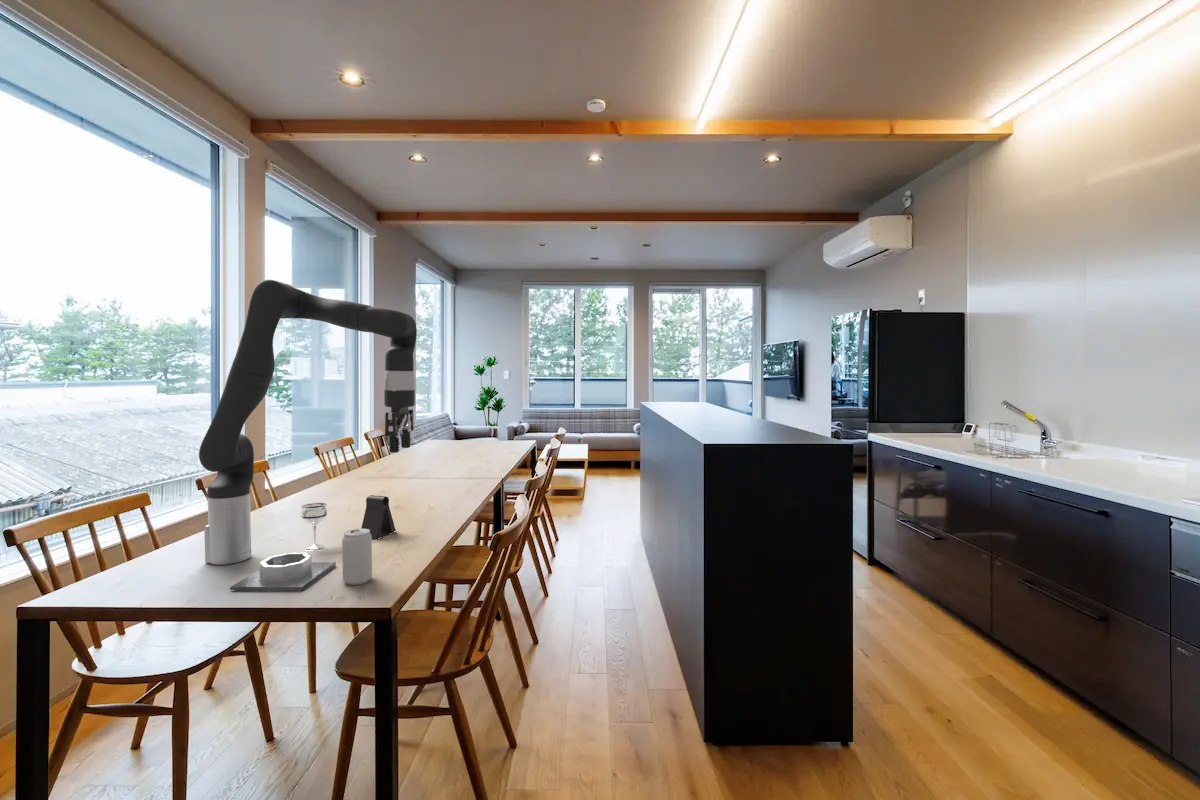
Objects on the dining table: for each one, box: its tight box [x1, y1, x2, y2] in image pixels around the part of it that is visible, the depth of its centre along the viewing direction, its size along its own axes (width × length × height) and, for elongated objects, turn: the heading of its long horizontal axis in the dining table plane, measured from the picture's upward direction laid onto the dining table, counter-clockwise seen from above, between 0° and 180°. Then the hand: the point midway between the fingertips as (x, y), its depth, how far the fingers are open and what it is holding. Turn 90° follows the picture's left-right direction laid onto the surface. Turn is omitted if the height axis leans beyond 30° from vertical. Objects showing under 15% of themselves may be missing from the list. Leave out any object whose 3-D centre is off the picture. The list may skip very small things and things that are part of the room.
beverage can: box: [341, 528, 373, 586], centre depth 127 cm, size 6×6×12 cm
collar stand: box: [229, 552, 337, 592], centre depth 129 cm, size 16×16×4 cm
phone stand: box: [360, 495, 397, 540], centre depth 164 cm, size 9×6×12 cm, turn 162°
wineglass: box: [300, 502, 329, 551], centre depth 152 cm, size 7×7×12 cm
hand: (400, 450), depth 141 cm, fingers open, 8 cm apart
